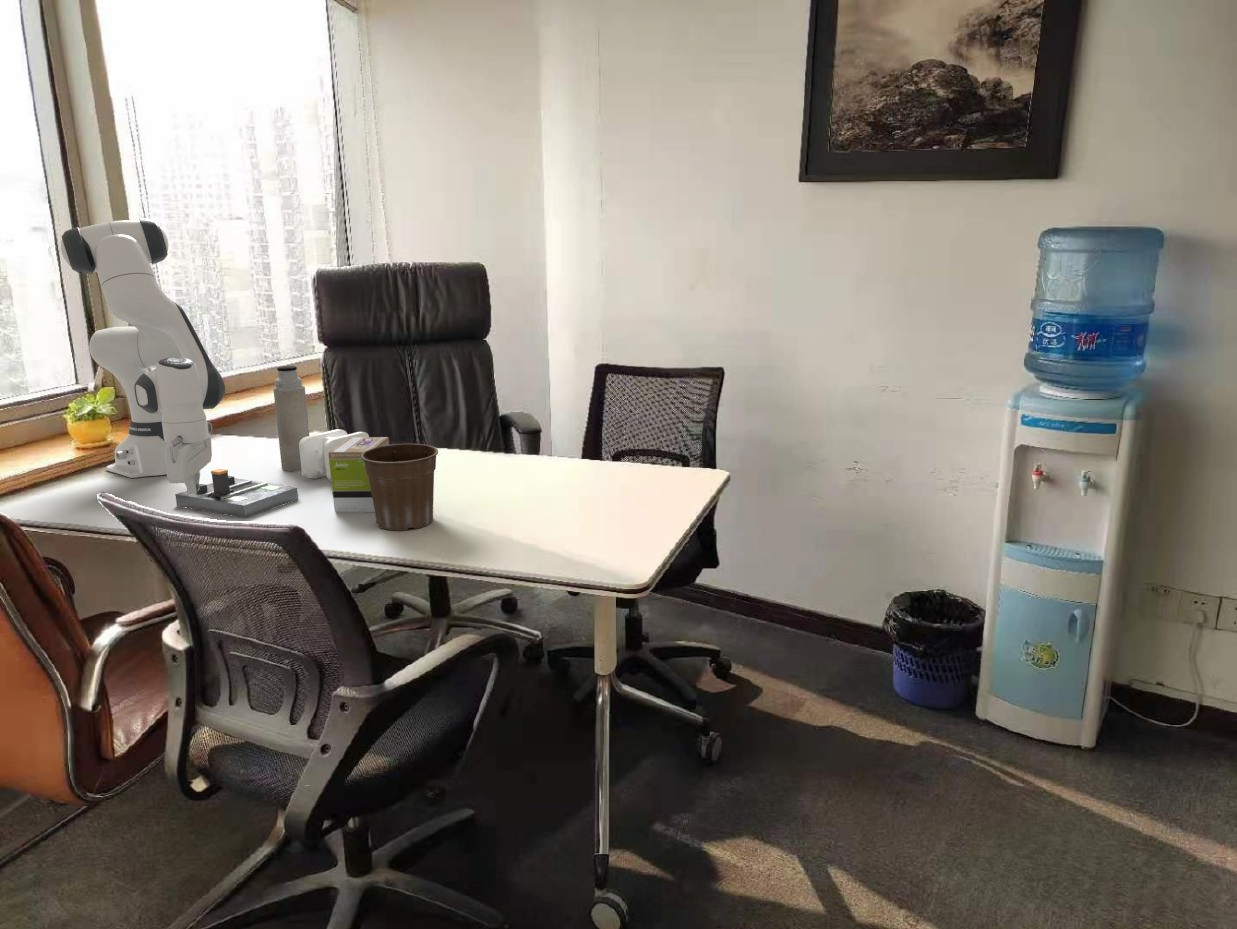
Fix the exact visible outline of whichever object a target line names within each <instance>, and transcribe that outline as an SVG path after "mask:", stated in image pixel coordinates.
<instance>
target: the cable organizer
mask: <svg viewBox="0 0 1237 929" xmlns="http://www.w3.org/2000/svg"><path fill="white" fill-rule="evenodd" d="M350 437H351V438H362V437H370V436H369V434H368V433H367V432H364V431H357V432H353V433H349V434H348V432H347V431H346V430H344V429H333V430H328V431H324V432H321V433H316V434H312V435H309V436H307V437H304V438H302V439H301V440H300V442H299V450H300V460H301V470H300V471H301V475H302V476H303V477H305V478H308V479H313V480H317V479H319V478H323V477H324V476H325V475H326V478H327V480H329V481H331V475H330V465H329V454H328V453H329V452H330V451H331V450H333V449H334V448H336V447H337V446H338V445H340V444H341V443H343V442H344V441H345V440H347V439H348V438H350Z"/></svg>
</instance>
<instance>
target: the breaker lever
mask: <svg viewBox="0 0 1237 929" xmlns="http://www.w3.org/2000/svg"><path fill="white" fill-rule="evenodd" d="M210 474H211V479H212V483H213V488H214V492H211V495H212V496H219V497H220V496H223V495H226V494H229V493H233V492H234V491H233V490H232V489H230V487H229V479H228V476H229V469H225V468H218V469H217V468H216V469H214V470H210Z"/></svg>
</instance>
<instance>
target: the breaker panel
mask: <svg viewBox="0 0 1237 929" xmlns="http://www.w3.org/2000/svg"><path fill="white" fill-rule="evenodd" d="M228 479H229V487H230V489H232V490H233V491H234V492H233V493H229V494H226V495H223V496H220V497H219V496H212V495H211V492H214V488H213V482H211V483H208V484H203V483H199V487H200V489H199V490H198V491H197V492H196V493H195V494H188V493H187V490H184V491H182V492H178V493H175V494H174V495H175V502H176V507H179V508H183V507H187V508H186V509H189V508H192V509H191V510H195V511H201V510H202V511H203V512H208V513H211V514H212V513H214V514H218V515H224V514H227V515H226V516H230V515H232V516H231V517H236V518H243V519H247V518H250V517H252V516H256V515H259V514H261V513H263V512H266V511H269V510H272V508H273V509H275V508H278V507H280V506H283V504H284V505H287V504H289V503H292V502H295V501H298V500H299V492H298V487H297V486H290V485H283V484H278V483H277V484H276V483H271V482H262V481H257V480H251V479H250V480H249V479H243V478H236V477H235V476H234V475H233V476H232V475H228ZM291 501H292V502H291ZM288 502H289V503H288ZM286 503H287V504H286ZM274 507H275V508H274Z"/></svg>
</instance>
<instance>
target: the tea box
mask: <svg viewBox="0 0 1237 929" xmlns="http://www.w3.org/2000/svg"><path fill="white" fill-rule="evenodd" d="M385 445H390V438H389V437H388V436H384V437H383V436H380V437H379V436H378V437H377V436H374V437H373V436H372V437H370V436H369V437H362V438H351V437H350V438H348V439H347V440H345V441H344V442H343V443H341V444H340V445H338V446H337V447H336V448H334V449H333V450H331V451H330V452H329V453H328V454H329V465H330V475H331V491H332V499H333V508H334V512H335V513H375V510H374V504H373V499H372V494H371V488H370V483H369V477H368V475H367V473H366V469H365V464H364V460H362V458H361V454H362V453H363V452H365V451H367V450H369V449H372V448H375V447H379V446H385Z"/></svg>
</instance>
